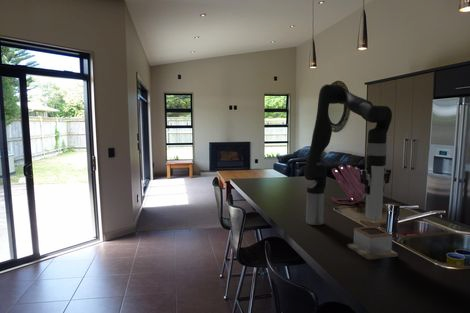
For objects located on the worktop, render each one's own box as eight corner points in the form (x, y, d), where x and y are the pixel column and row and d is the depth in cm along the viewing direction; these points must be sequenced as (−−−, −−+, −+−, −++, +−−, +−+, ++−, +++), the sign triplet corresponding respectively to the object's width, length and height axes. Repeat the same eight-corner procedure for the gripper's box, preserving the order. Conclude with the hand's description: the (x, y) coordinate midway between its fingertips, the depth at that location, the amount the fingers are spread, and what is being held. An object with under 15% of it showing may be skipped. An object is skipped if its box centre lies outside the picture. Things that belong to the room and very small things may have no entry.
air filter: (367, 214, 137) (370, 158, 134) (383, 217, 133) (386, 159, 130) (362, 218, 132) (365, 159, 129) (379, 221, 128) (382, 160, 125)
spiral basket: (317, 176, 209) (353, 154, 205) (318, 179, 236) (350, 160, 231) (341, 212, 201) (379, 190, 197) (340, 211, 228) (373, 192, 223)
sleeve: (353, 245, 138) (354, 227, 137) (374, 242, 140) (374, 226, 139) (369, 254, 127) (370, 236, 127) (391, 252, 130) (392, 234, 129)
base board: (347, 246, 139) (347, 243, 139) (374, 243, 142) (374, 241, 142) (368, 259, 125) (368, 256, 125) (397, 256, 129) (397, 253, 129)
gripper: (384, 152, 135) (382, 191, 137) (355, 153, 132) (353, 192, 133) (397, 154, 128) (395, 194, 130) (367, 155, 124) (365, 196, 126)
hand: (374, 193), depth 131 cm, fingers closed on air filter, 5 cm apart
